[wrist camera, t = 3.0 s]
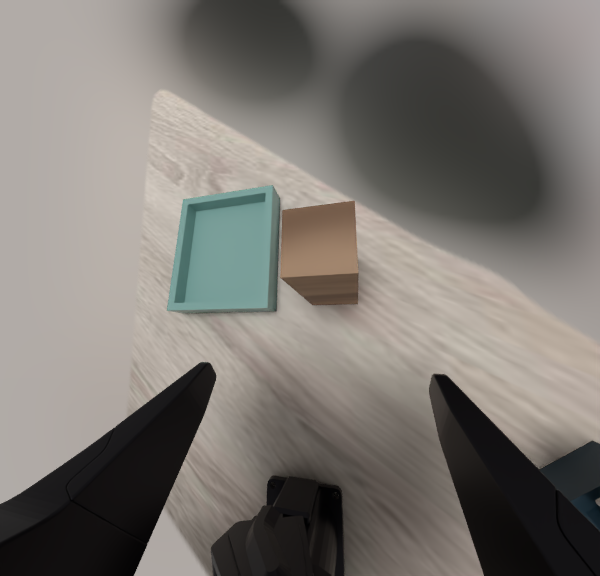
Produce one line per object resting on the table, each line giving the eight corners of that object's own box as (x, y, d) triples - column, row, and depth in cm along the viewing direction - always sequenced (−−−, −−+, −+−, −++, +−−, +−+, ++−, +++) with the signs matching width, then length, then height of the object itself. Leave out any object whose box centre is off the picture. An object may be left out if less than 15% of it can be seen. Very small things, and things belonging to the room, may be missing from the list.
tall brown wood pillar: (357, 303, 22) (358, 273, 12) (312, 305, 23) (280, 277, 14) (355, 260, 23) (354, 200, 14) (312, 263, 24) (282, 210, 15)
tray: (276, 311, 24) (267, 307, 22) (183, 313, 27) (166, 310, 25) (280, 198, 27) (272, 185, 25) (196, 210, 30) (183, 199, 28)
